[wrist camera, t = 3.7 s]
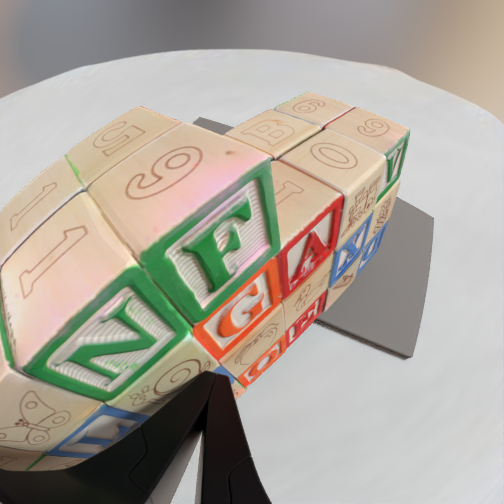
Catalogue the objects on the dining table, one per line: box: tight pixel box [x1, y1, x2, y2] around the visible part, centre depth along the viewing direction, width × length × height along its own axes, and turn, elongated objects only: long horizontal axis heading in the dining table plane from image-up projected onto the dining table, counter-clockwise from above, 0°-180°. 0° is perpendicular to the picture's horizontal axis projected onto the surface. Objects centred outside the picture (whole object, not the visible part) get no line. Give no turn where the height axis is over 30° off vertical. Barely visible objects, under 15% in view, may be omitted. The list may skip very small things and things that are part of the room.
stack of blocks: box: [0, 92, 410, 471], centre depth 11 cm, size 21×6×12 cm, turn 134°
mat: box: [193, 117, 434, 358], centre depth 21 cm, size 13×24×1 cm, turn 65°
